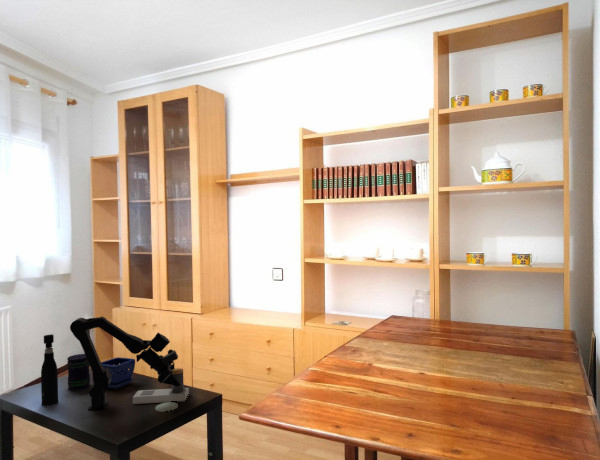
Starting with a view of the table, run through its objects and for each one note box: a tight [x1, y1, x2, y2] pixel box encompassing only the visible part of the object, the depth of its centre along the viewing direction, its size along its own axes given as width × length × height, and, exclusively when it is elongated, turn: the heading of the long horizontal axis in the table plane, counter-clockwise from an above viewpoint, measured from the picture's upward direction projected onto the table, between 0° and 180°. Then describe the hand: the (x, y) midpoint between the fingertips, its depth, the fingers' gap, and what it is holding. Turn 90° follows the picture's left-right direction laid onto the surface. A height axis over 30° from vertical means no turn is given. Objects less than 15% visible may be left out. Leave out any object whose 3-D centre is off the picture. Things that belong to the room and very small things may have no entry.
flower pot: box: [101, 357, 136, 390], centre depth 214 cm, size 13×13×12 cm
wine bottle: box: [40, 334, 59, 407], centre depth 192 cm, size 6×6×30 cm
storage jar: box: [67, 353, 91, 392], centre depth 213 cm, size 10×10×15 cm
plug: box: [171, 368, 185, 394], centre depth 194 cm, size 6×6×12 cm
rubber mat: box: [155, 402, 179, 413], centre depth 183 cm, size 9×9×1 cm
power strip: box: [132, 387, 190, 405], centre depth 193 cm, size 8×22×3 cm, turn 94°
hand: (180, 382), depth 194 cm, fingers open, 9 cm apart
